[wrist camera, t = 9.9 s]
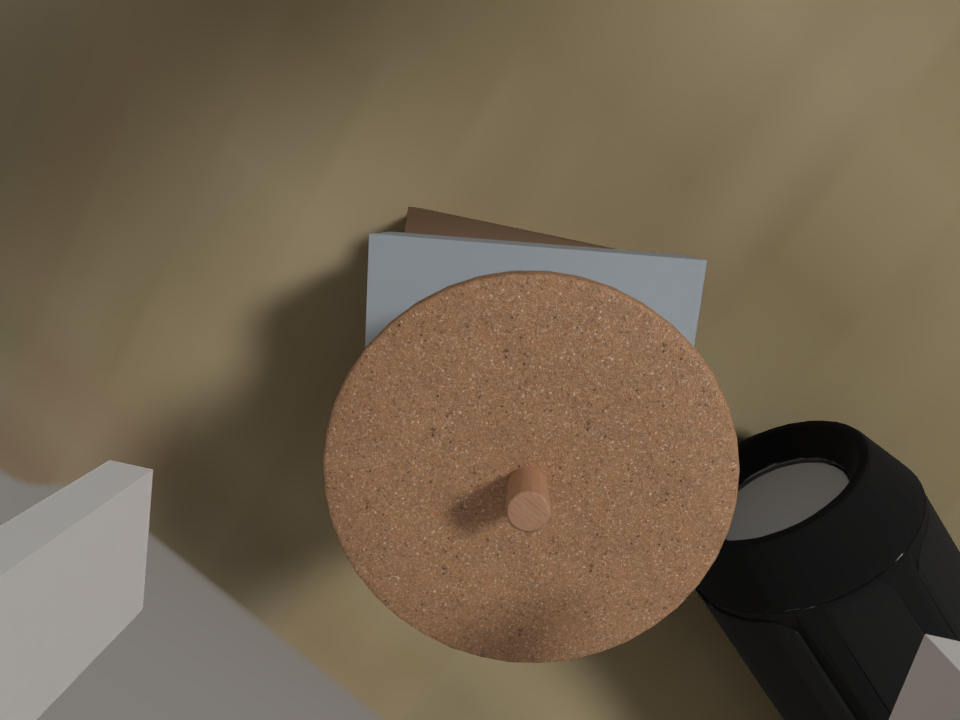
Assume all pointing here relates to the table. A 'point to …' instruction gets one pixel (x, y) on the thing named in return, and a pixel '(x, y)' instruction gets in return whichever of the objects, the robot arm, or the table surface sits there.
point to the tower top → (449, 260)
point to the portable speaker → (831, 572)
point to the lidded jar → (531, 466)
